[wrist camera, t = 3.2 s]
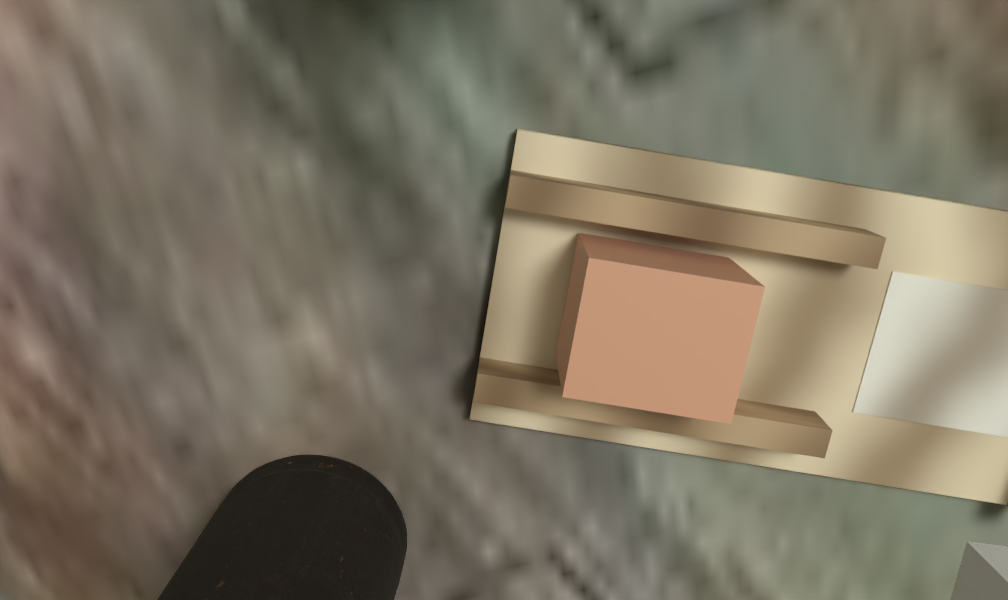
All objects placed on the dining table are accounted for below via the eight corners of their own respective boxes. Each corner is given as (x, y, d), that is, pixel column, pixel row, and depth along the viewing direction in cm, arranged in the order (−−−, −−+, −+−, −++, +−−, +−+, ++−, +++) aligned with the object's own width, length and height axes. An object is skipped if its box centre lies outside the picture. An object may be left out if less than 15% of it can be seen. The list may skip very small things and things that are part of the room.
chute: (471, 410, 36) (467, 438, 33) (517, 128, 33) (517, 132, 31) (1016, 497, 37) (1058, 532, 34) (1108, 227, 34) (1164, 241, 31)
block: (555, 353, 34) (562, 396, 30) (578, 232, 33) (589, 258, 28) (701, 376, 35) (731, 424, 30) (728, 257, 33) (765, 286, 29)
